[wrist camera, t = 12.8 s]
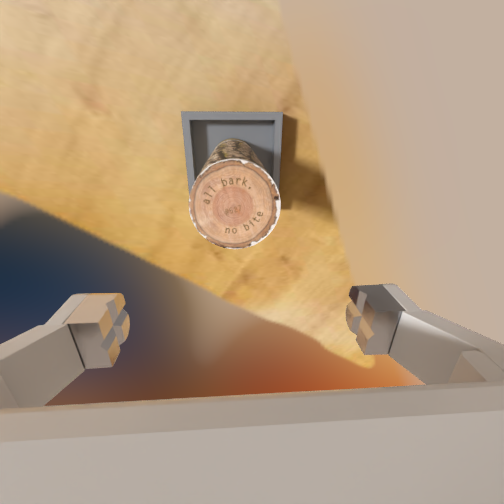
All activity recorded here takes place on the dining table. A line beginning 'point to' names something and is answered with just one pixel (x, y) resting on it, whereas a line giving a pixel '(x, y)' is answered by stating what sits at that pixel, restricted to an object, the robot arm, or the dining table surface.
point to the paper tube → (234, 197)
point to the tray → (232, 126)
